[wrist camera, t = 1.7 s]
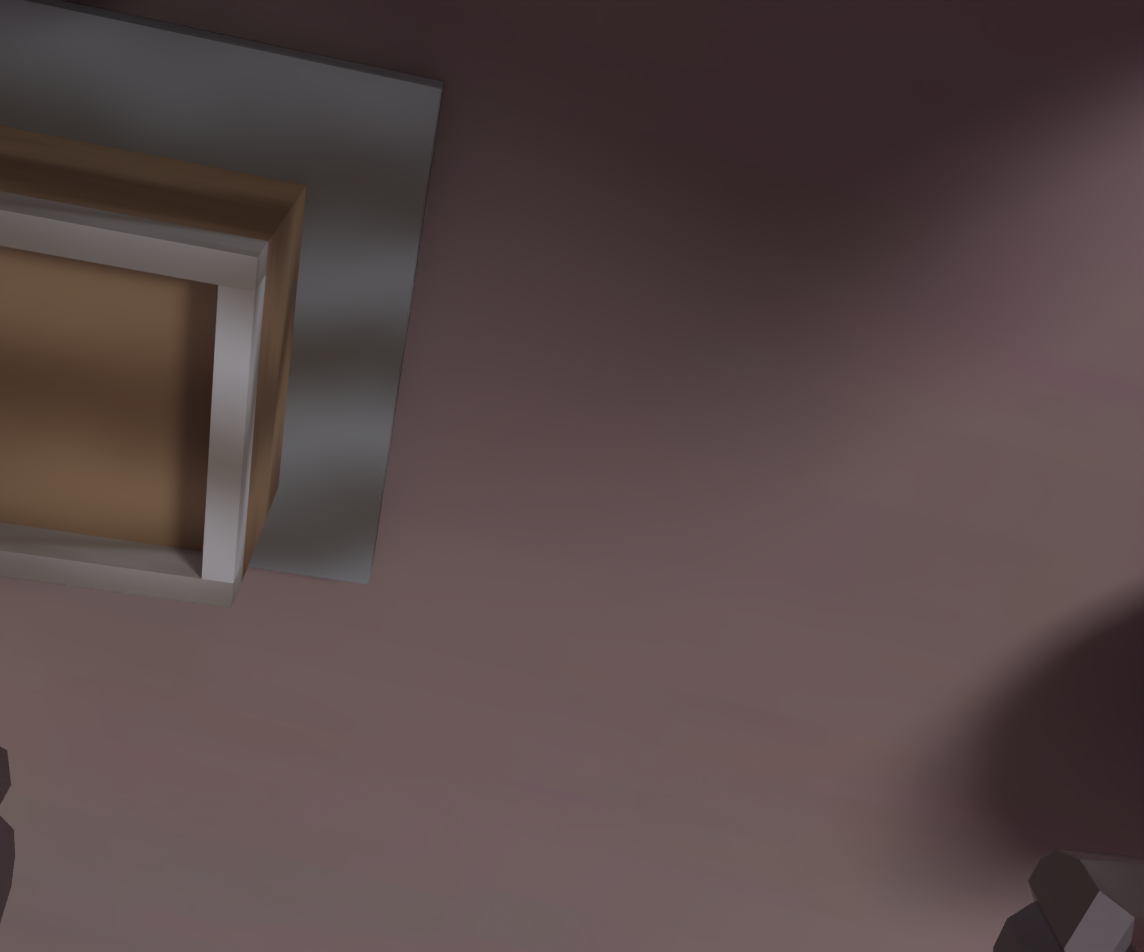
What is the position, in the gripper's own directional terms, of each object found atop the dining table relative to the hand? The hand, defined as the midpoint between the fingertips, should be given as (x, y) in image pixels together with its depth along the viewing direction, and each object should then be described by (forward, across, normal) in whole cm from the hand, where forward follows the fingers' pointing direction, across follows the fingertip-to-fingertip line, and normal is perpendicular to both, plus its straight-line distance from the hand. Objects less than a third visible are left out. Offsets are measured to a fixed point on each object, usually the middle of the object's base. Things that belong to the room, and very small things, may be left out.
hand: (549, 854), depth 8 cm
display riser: (+33, +13, +9) cm, 36 cm away
